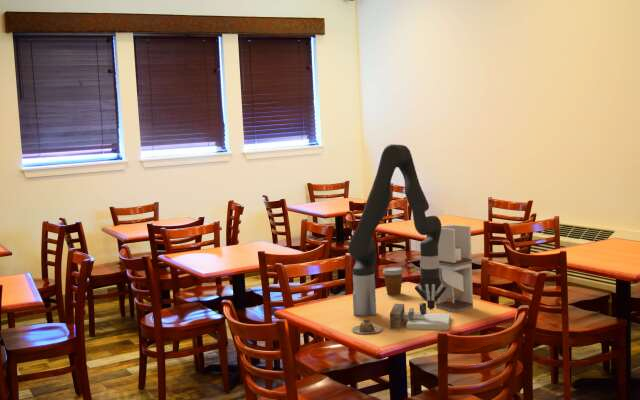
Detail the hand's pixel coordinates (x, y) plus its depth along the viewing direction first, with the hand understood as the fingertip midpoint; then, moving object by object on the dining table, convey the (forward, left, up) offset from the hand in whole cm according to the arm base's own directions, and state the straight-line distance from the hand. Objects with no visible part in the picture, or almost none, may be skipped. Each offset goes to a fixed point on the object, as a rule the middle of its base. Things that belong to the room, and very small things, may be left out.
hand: (431, 309), depth 309 cm
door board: (-1, 0, -6) cm, 6 cm away
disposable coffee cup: (-21, +50, -6) cm, 54 cm away
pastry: (-24, -11, -7) cm, 27 cm away
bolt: (-7, 0, -4) cm, 8 cm away
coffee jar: (-3, +41, -6) cm, 41 cm away
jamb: (-14, 0, -6) cm, 15 cm away
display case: (+8, +25, -6) cm, 27 cm away
